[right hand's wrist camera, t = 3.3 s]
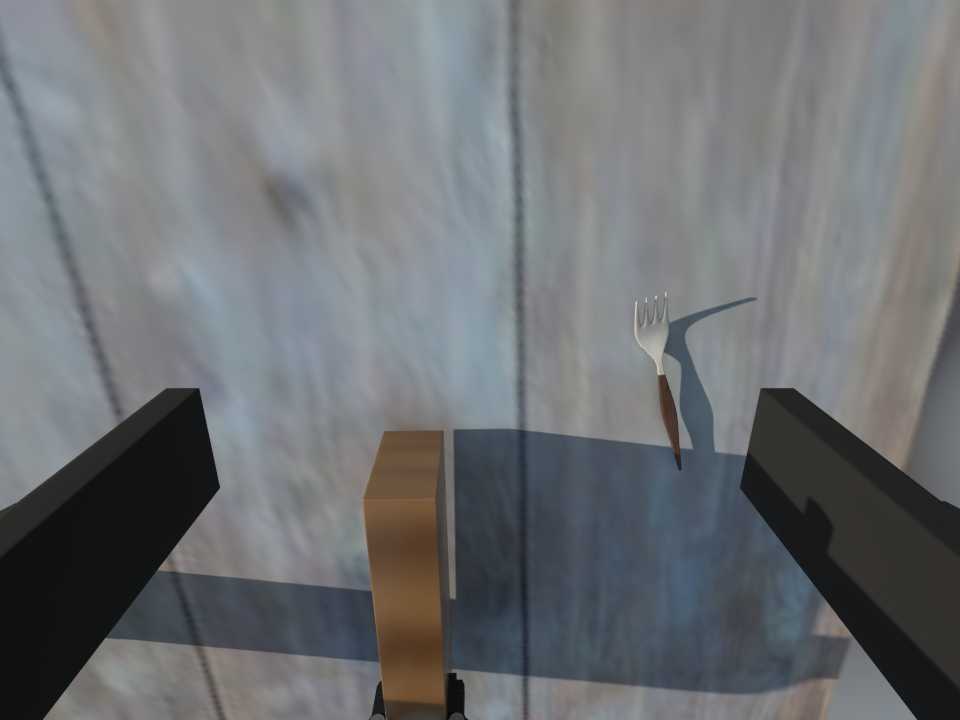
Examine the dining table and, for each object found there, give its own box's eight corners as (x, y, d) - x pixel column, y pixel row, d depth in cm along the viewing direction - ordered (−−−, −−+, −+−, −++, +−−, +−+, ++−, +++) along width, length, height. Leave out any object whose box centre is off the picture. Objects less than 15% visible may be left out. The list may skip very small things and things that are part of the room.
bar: (383, 430, 43) (362, 500, 34) (443, 430, 43) (436, 498, 34) (403, 667, 52) (390, 765, 44) (452, 666, 52) (448, 764, 44)
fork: (662, 470, 46) (670, 484, 44) (626, 294, 40) (633, 302, 38) (693, 463, 45) (702, 476, 43) (661, 285, 40) (670, 291, 38)
